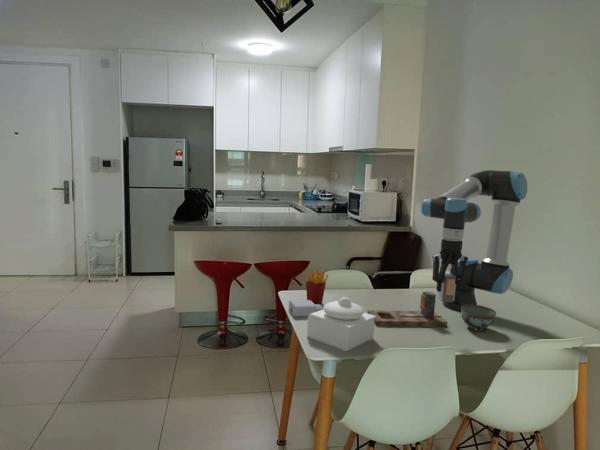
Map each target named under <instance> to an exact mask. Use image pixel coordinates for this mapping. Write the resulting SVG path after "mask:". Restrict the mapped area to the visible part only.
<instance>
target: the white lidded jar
mask: <svg viewBox="0 0 600 450" xmlns="http://www.w3.org/2000/svg"><path fill="white" fill-rule="evenodd" d="M323 306H324V307H322V308H323V310H320V311H316V312H314V313H311V314H310V316H307V319H308V320H307V330H306V337H307V338H309V339H312V340H314V341H317V342H320V343H323V344H324V345H327V344H328V346H330V345H331V347H333V348H335V347H336V348H335V349H338V348H339V349H338V350H341V351H343V350H344V352H349V351H351V350H352V348H353V349H355V348H357V347H359V346H361V345H363V344H365V343H367V342H369V341H371V340H373V339H374V332H375V331H374V330H375V324H374V321H375V318H376V316H374V315H371V314H368V313H367V312H365V311H364V310H365V309H364V308H363V307H362V306H360V305H358V304H357V303H355V302H352V301H351V299H350V298H349V297H346V296H343V297H340V298H339V300H334V301H329V302H327V303H326V304H324V305H323ZM356 346H357V347H356ZM354 347H355V348H354ZM348 350H349V351H348Z"/></svg>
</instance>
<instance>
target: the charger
mask: <svg viewBox="0 0 600 450" xmlns="http://www.w3.org/2000/svg"><path fill="white" fill-rule="evenodd" d="M323 307H324V305H321V304H314V303H313V302H312V301H310V300H307V299H301V300H300V299H299V300H289V301H288V311H289V313H290V315H292V316H293V318H298V317H308V316H310V314H311V313H314V312H317V311H320V310H323Z"/></svg>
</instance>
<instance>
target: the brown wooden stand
mask: <svg viewBox="0 0 600 450" xmlns="http://www.w3.org/2000/svg"><path fill="white" fill-rule="evenodd" d="M436 298H437V295H436V294H435V293H434V292H433V291H423V292H422V294H421V295H420V305H419V309H420V310H373V309H372V310H369V309H368V310H367V311H366V313H368V314H371V315H374V316H376V318H375V321H374V326H376V327H448V321H447V320H446V319H445V318H443V317H442V314H438V313H437V312H436V311H435V308H436Z"/></svg>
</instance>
